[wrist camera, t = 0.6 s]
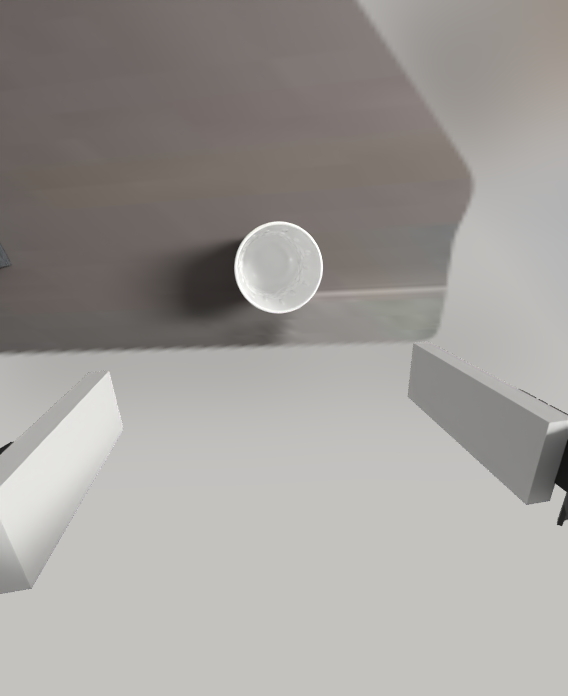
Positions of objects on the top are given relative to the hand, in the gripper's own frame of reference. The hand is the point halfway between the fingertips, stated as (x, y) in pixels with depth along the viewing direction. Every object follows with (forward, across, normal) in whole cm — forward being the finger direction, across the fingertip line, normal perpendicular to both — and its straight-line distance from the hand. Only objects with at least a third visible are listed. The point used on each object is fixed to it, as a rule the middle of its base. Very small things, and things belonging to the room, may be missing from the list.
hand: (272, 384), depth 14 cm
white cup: (+26, +3, +3) cm, 26 cm away
